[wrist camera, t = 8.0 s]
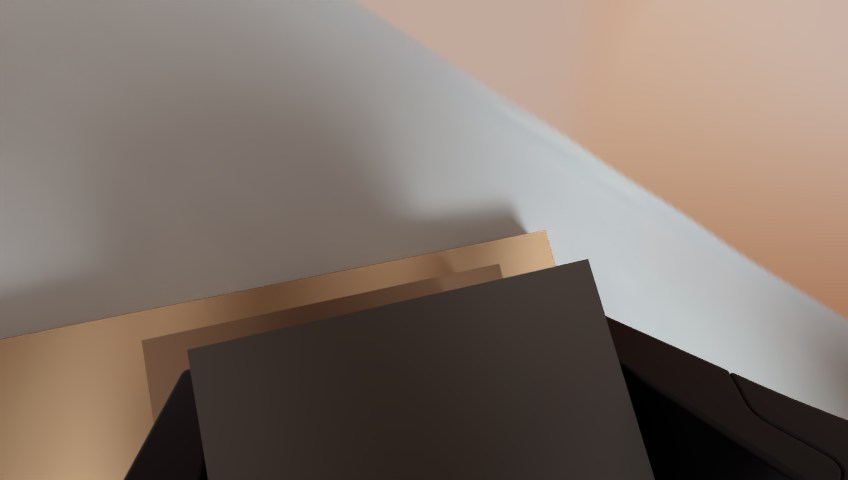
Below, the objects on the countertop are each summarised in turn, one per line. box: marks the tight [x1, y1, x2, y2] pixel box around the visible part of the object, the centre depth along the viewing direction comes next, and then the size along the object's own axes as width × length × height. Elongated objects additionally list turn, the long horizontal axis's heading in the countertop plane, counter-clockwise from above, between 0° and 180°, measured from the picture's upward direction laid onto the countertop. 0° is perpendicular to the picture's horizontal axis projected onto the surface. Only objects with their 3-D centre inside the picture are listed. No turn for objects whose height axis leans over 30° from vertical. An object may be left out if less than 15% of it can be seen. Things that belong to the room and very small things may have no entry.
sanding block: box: [142, 259, 655, 480], centre depth 10 cm, size 8×6×8 cm
